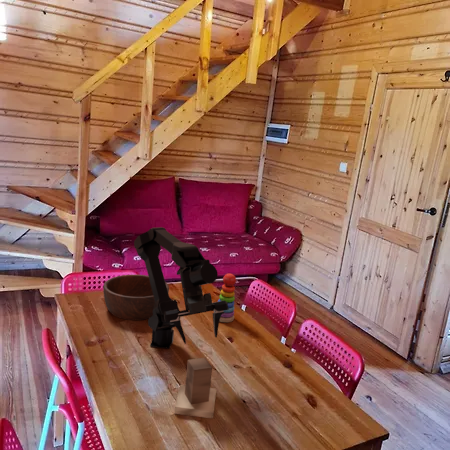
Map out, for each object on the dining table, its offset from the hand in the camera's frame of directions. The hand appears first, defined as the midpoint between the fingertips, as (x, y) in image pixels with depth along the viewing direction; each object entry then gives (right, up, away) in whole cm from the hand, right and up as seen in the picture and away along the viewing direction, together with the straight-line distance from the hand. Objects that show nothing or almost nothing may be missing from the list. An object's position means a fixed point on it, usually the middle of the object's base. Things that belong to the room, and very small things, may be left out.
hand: (200, 340), depth 125 cm
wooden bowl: (-28, 0, +43) cm, 51 cm away
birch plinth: (-1, -14, -11) cm, 18 cm away
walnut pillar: (-1, -12, -11) cm, 16 cm away
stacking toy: (+7, -3, +43) cm, 44 cm away
